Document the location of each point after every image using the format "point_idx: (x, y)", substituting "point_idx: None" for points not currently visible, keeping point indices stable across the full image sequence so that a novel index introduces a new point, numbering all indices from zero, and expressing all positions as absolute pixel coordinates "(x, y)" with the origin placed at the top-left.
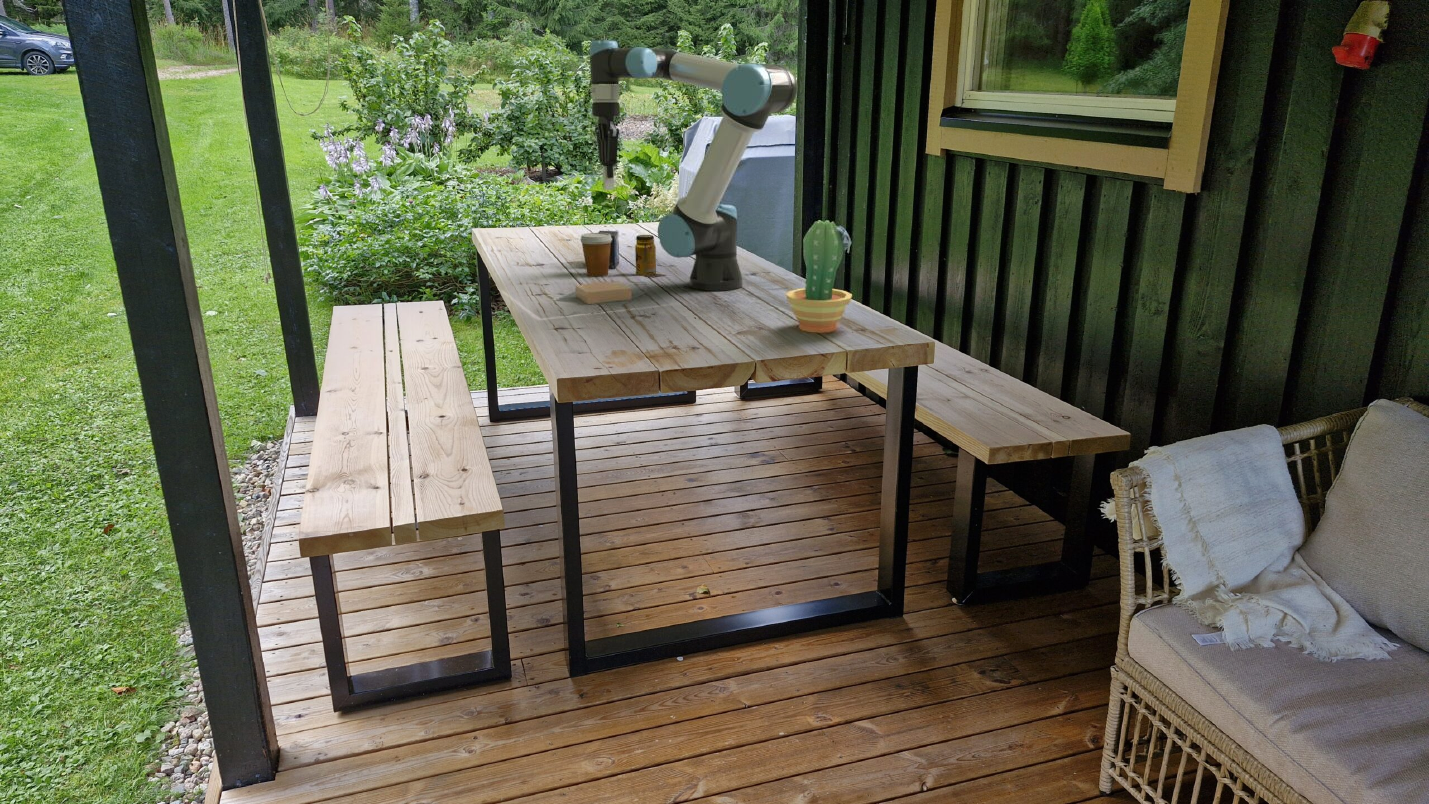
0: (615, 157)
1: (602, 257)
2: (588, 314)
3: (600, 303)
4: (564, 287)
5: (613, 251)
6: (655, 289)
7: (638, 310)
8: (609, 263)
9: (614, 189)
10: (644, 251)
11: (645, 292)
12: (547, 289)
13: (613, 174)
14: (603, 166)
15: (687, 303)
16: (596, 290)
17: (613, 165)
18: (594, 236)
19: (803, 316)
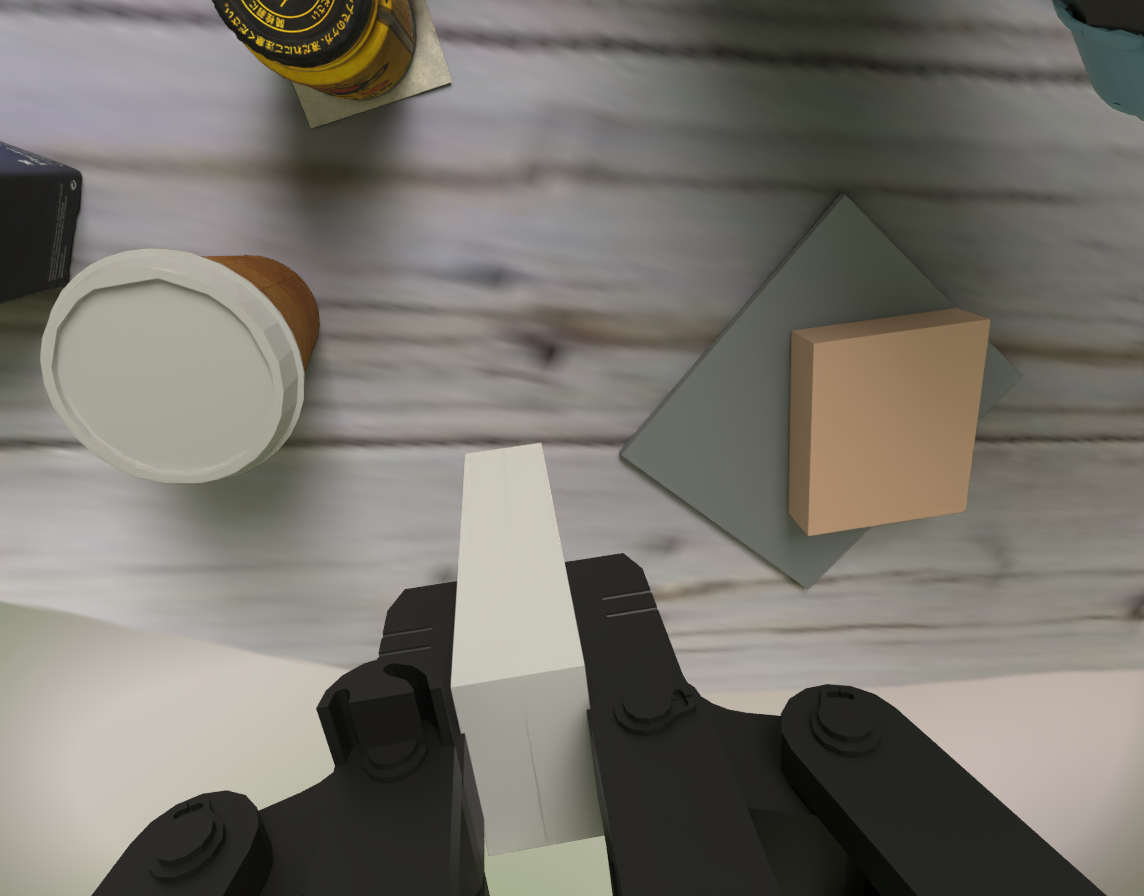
0: (1013, 860)
1: (303, 323)
2: (1032, 501)
3: None
4: None
5: (10, 181)
6: (749, 105)
7: (1089, 314)
8: (58, 208)
9: (541, 444)
10: (393, 32)
11: (847, 198)
12: None
13: (564, 564)
14: (540, 840)
15: None
16: (951, 472)
17: (664, 691)
18: (189, 395)
19: None
